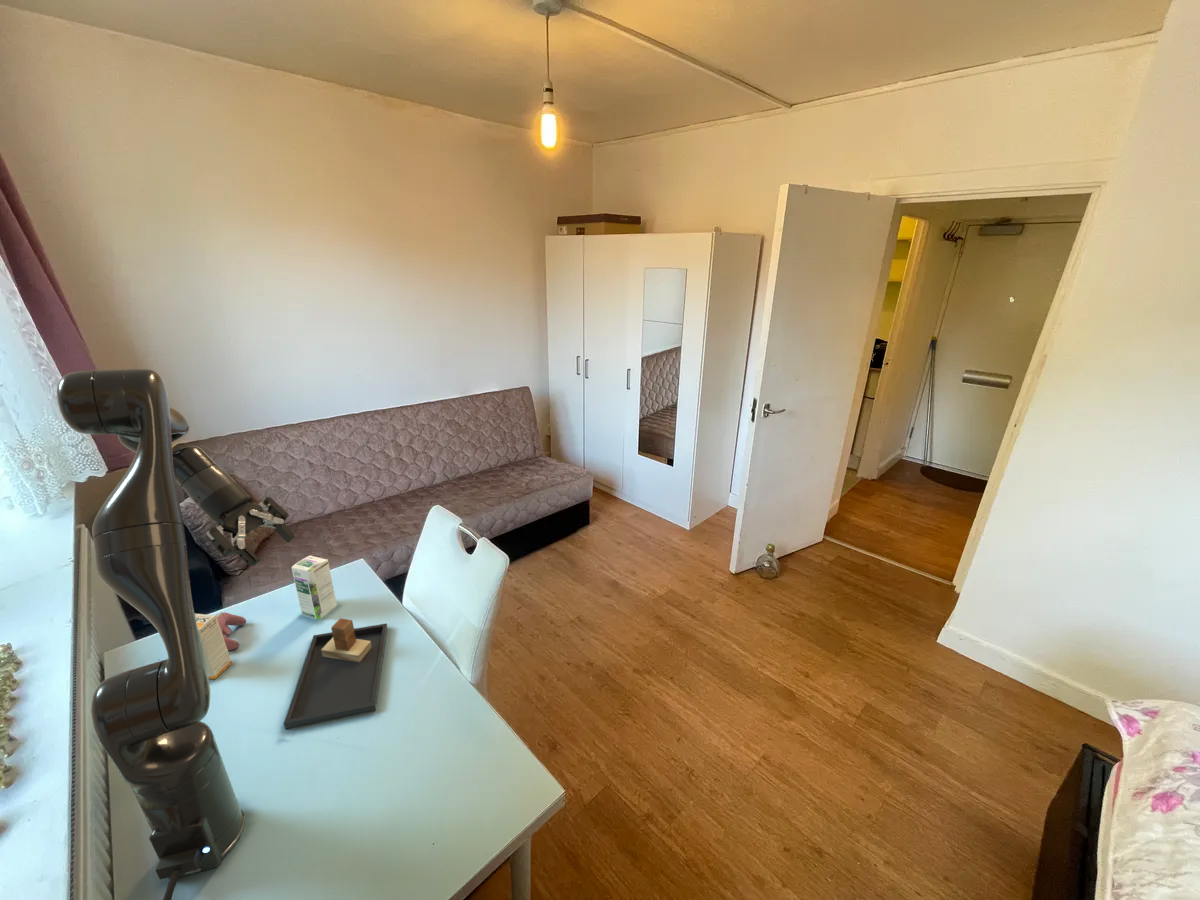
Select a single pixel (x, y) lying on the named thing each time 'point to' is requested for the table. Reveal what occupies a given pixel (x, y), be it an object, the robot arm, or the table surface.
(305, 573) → the syrup box
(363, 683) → the tray
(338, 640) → the stacked wooden blocks
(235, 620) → the video game controller
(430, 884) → the table surface
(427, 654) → the table surface
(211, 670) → the supplement box
